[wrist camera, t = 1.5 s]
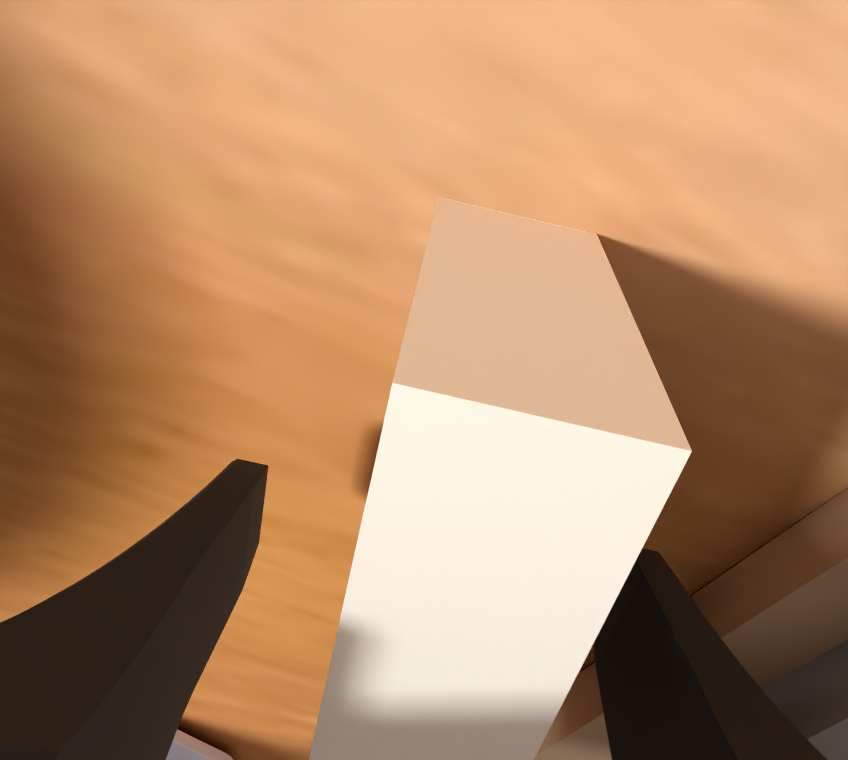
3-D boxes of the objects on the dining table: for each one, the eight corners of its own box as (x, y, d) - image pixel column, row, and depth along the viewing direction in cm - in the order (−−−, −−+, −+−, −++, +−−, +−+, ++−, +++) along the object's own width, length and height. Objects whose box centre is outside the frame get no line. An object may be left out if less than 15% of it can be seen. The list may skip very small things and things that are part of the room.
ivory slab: (456, 649, 19) (440, 964, 13) (342, 624, 19) (271, 930, 13) (606, 234, 13) (711, 455, 7) (439, 194, 13) (391, 383, 7)
